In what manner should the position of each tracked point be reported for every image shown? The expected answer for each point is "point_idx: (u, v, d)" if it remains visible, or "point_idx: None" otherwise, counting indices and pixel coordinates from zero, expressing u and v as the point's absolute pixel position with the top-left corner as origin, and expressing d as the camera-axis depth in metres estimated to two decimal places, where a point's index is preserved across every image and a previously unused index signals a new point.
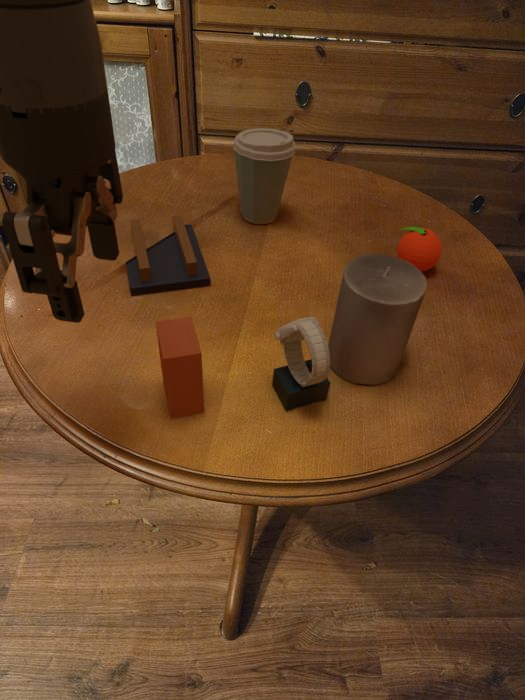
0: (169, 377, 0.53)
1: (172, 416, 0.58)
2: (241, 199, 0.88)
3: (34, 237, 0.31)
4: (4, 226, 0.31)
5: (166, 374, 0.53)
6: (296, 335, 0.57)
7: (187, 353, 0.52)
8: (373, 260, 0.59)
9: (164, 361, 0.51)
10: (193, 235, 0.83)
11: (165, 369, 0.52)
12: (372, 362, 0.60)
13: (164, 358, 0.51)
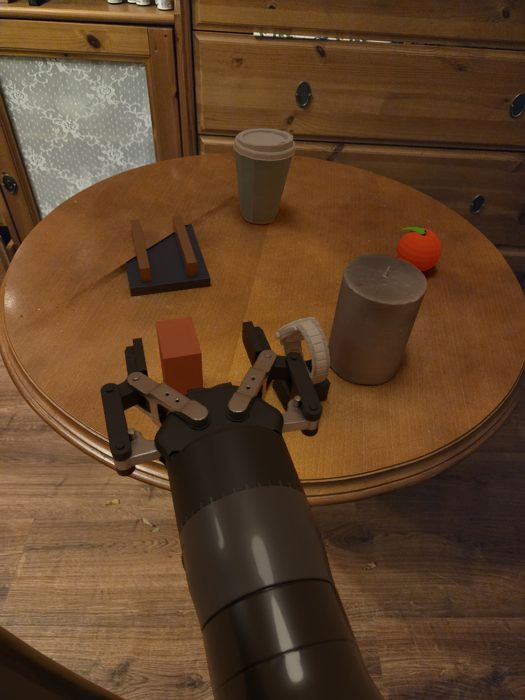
0: (169, 377, 0.53)
1: None
2: (241, 199, 0.88)
3: None
4: (110, 449, 0.30)
5: (166, 374, 0.53)
6: (296, 335, 0.57)
7: (187, 353, 0.52)
8: (373, 260, 0.59)
9: (164, 361, 0.51)
10: (193, 235, 0.83)
11: (165, 369, 0.52)
12: (372, 362, 0.60)
13: (164, 358, 0.51)
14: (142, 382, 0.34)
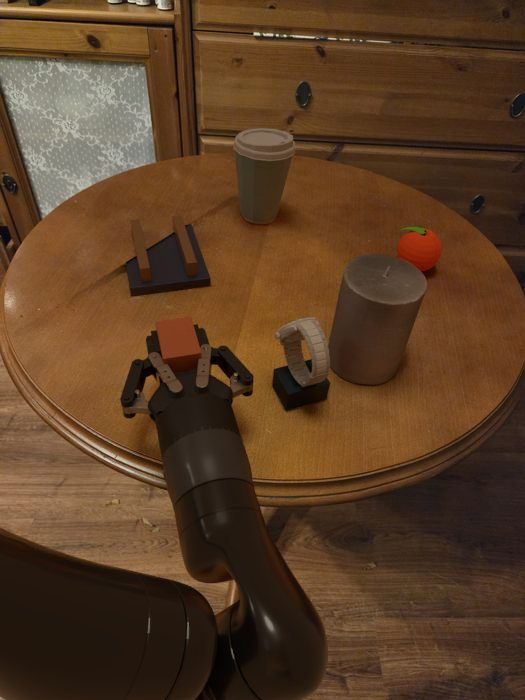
0: None
1: None
2: (241, 199, 0.88)
3: None
4: (120, 398, 0.48)
5: None
6: (296, 335, 0.57)
7: (187, 353, 0.52)
8: (373, 260, 0.59)
9: (164, 361, 0.51)
10: (193, 235, 0.83)
11: None
12: (372, 362, 0.60)
13: (164, 358, 0.51)
14: (156, 359, 0.52)
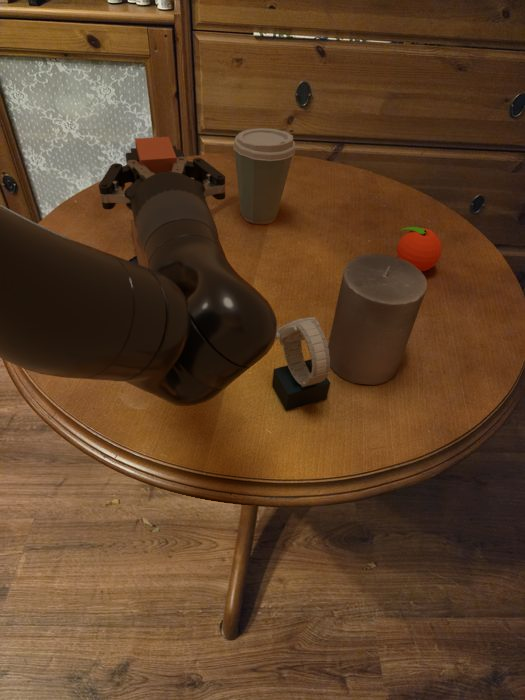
0: None
1: None
2: (241, 199, 0.88)
3: None
4: (99, 185, 0.51)
5: None
6: (296, 335, 0.57)
7: (163, 157, 0.55)
8: (373, 260, 0.59)
9: (141, 163, 0.54)
10: None
11: None
12: (372, 362, 0.60)
13: (141, 159, 0.54)
14: (134, 164, 0.55)
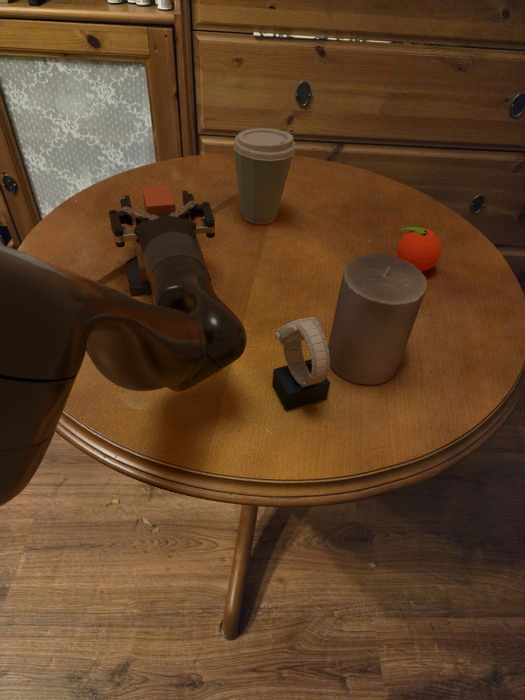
0: None
1: None
2: (241, 199, 0.88)
3: None
4: (113, 230, 0.66)
5: None
6: (296, 335, 0.57)
7: (164, 204, 0.70)
8: (373, 260, 0.59)
9: (147, 209, 0.70)
10: None
11: None
12: (372, 362, 0.60)
13: (147, 206, 0.70)
14: (128, 210, 0.69)
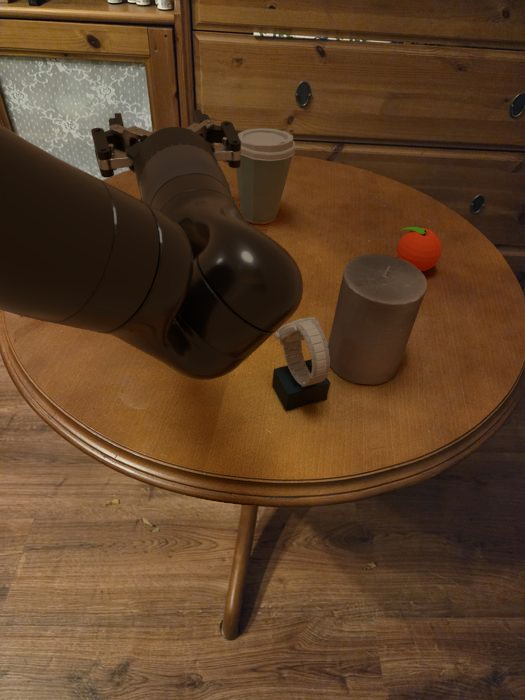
0: None
1: None
2: (241, 199, 0.88)
3: (99, 167, 0.47)
4: (96, 151, 0.46)
5: None
6: (296, 335, 0.57)
7: None
8: (373, 260, 0.59)
9: None
10: None
11: None
12: (372, 362, 0.60)
13: None
14: (120, 128, 0.49)
